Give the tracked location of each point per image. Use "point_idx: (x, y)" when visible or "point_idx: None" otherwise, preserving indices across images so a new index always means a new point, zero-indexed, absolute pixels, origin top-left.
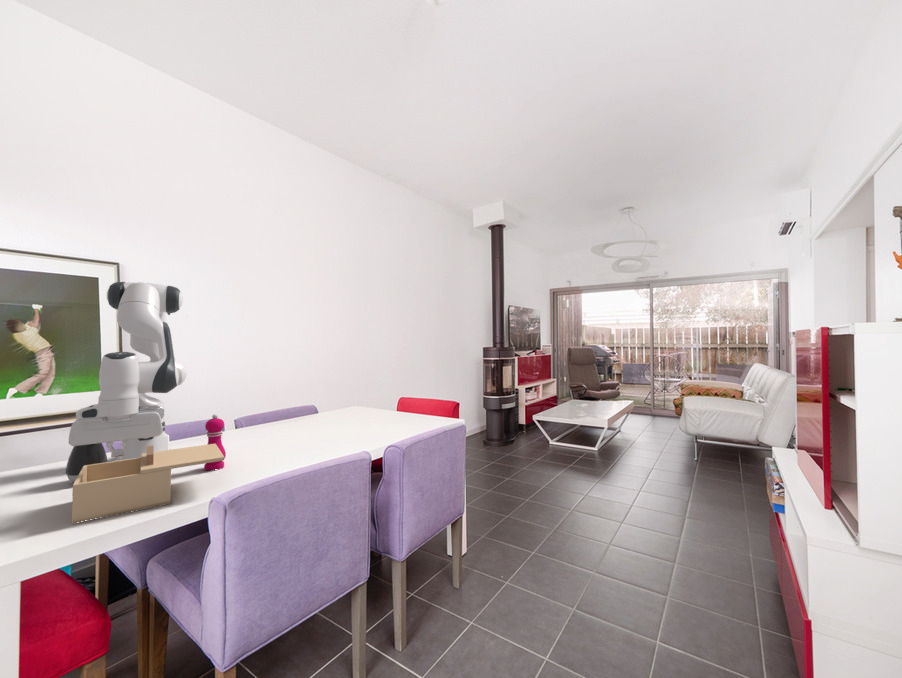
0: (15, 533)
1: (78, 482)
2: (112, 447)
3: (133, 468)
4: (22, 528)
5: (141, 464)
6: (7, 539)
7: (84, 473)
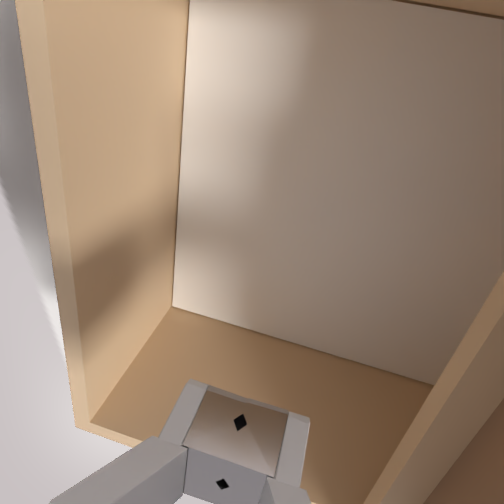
0: (34, 238)
1: (88, 402)
2: (144, 502)
3: (495, 4)
4: (37, 206)
5: (403, 473)
6: (32, 271)
7: (77, 157)
